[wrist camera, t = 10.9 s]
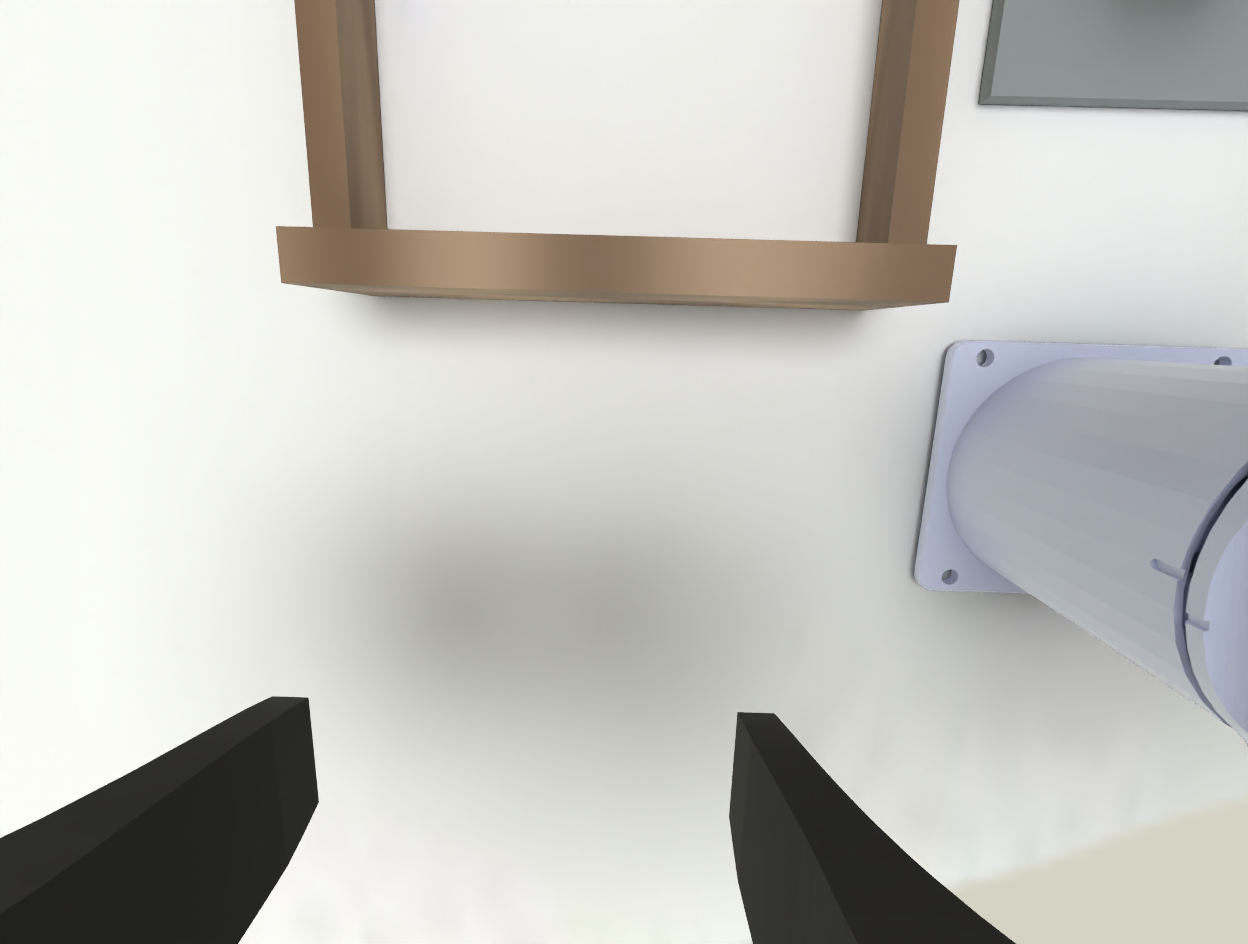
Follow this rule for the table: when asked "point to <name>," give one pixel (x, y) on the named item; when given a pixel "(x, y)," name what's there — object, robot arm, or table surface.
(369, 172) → the walnut rack
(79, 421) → the table surface
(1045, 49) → the slate mat
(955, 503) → the robot arm
